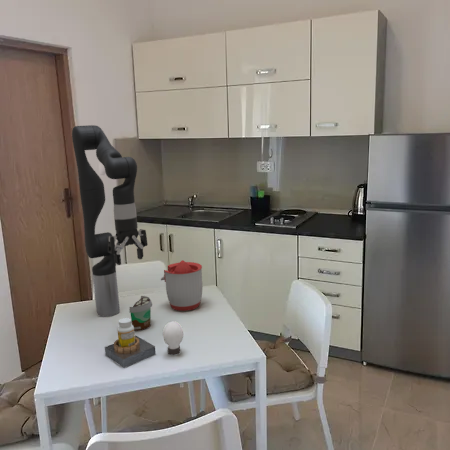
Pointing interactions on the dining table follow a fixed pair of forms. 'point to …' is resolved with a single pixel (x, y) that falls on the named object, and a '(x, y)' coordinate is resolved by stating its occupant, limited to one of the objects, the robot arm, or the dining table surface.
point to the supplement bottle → (126, 333)
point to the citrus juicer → (183, 285)
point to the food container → (141, 314)
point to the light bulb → (173, 337)
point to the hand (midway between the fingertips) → (129, 261)
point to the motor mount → (130, 352)
